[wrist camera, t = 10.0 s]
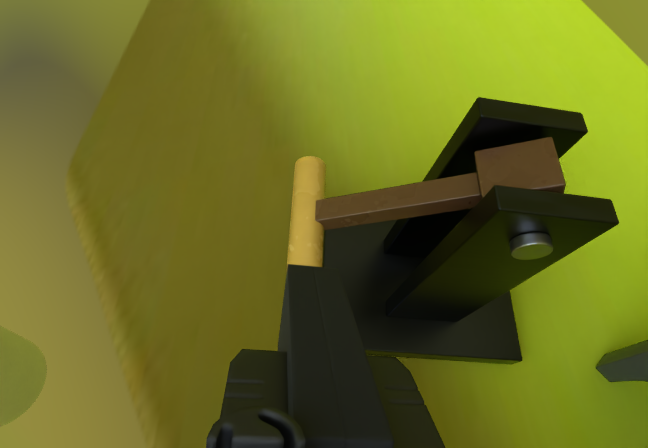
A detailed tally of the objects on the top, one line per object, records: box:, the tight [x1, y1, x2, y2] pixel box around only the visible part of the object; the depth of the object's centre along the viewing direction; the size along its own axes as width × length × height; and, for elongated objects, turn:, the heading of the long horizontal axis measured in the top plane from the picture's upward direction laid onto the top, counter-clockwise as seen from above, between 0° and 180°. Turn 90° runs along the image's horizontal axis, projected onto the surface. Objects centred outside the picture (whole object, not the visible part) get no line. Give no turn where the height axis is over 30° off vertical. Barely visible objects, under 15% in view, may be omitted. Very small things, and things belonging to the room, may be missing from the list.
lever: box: [286, 137, 566, 275], centre depth 18 cm, size 11×6×2 cm
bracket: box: [322, 97, 619, 364], centre depth 21 cm, size 12×9×14 cm
